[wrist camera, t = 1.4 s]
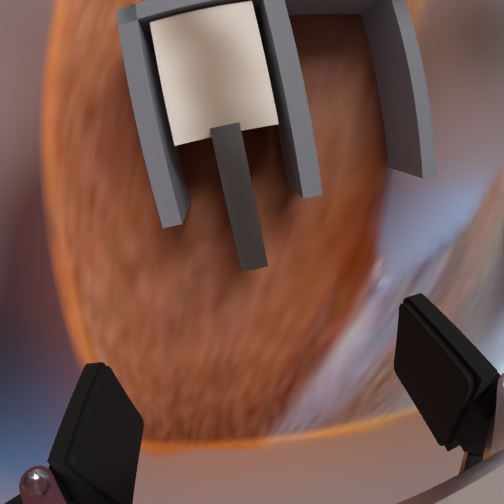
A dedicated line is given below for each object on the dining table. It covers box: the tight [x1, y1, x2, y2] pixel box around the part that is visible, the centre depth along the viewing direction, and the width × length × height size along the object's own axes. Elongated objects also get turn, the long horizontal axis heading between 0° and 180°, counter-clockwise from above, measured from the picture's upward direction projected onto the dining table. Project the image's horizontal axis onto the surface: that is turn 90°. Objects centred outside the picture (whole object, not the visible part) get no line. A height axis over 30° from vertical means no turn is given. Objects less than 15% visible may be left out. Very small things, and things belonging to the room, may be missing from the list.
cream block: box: [150, 1, 279, 272], centre depth 18 cm, size 6×16×6 cm, turn 11°
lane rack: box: [116, 0, 436, 228], centre depth 18 cm, size 18×14×5 cm
